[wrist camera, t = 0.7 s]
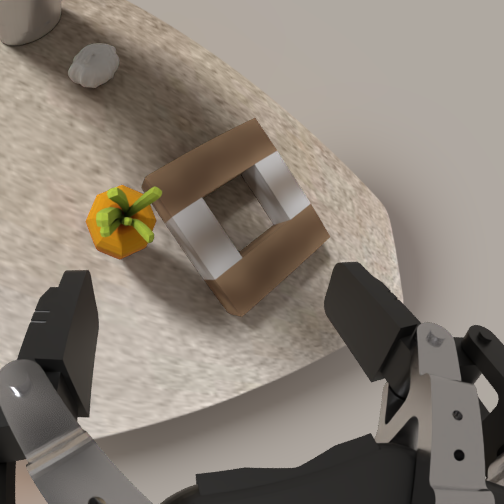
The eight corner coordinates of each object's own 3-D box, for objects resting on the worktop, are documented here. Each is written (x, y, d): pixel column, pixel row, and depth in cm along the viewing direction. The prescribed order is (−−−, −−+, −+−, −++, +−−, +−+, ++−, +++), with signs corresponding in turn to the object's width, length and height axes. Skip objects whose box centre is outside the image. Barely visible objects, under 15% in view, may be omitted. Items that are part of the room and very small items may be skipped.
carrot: (140, 214, 30) (171, 161, 16) (141, 264, 30) (171, 251, 16) (92, 214, 28) (82, 159, 14) (92, 265, 27) (78, 253, 14)
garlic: (83, 104, 28) (82, 78, 23) (61, 76, 26) (59, 48, 22) (126, 78, 30) (132, 51, 25) (104, 52, 29) (107, 24, 24)
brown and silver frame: (141, 187, 30) (145, 176, 27) (241, 130, 36) (254, 117, 33) (228, 313, 33) (241, 316, 30) (312, 240, 39) (330, 236, 36)
